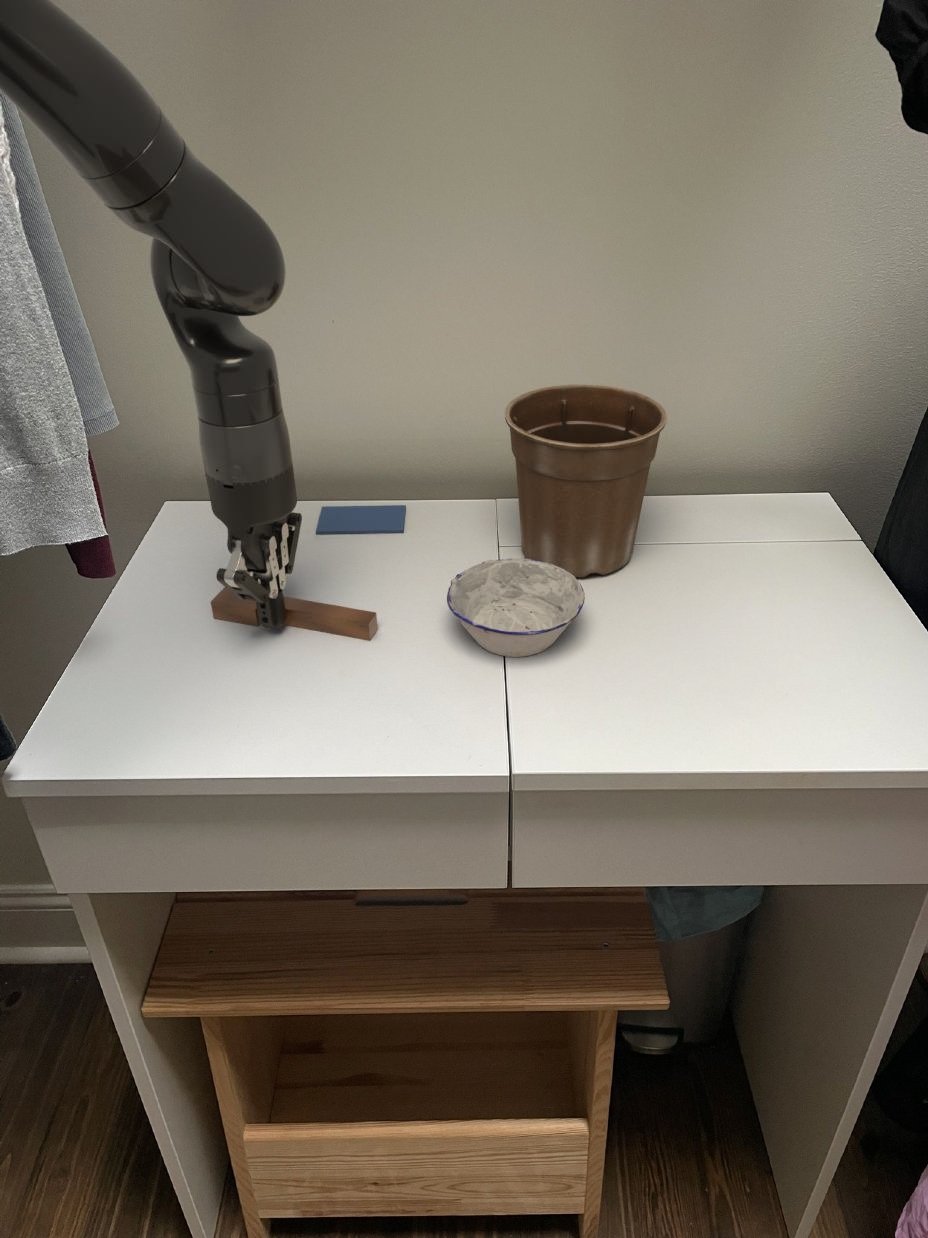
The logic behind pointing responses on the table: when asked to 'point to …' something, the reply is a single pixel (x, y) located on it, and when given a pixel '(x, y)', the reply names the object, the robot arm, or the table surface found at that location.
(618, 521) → the plant pot
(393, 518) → the cloth
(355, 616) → the wooden mallet
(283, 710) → the table surface
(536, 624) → the bowl
